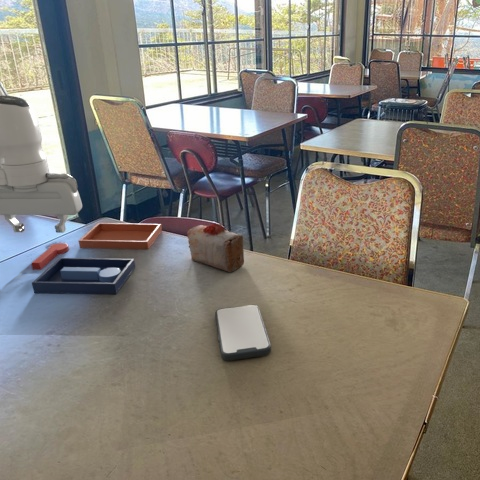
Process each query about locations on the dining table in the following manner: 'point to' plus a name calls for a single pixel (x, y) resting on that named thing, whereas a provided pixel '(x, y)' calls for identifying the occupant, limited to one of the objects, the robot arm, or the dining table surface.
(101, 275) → the blue spoon
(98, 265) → the navy tray
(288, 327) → the dining table surface
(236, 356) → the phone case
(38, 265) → the red spoon
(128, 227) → the terracotta tray
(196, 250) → the food item
